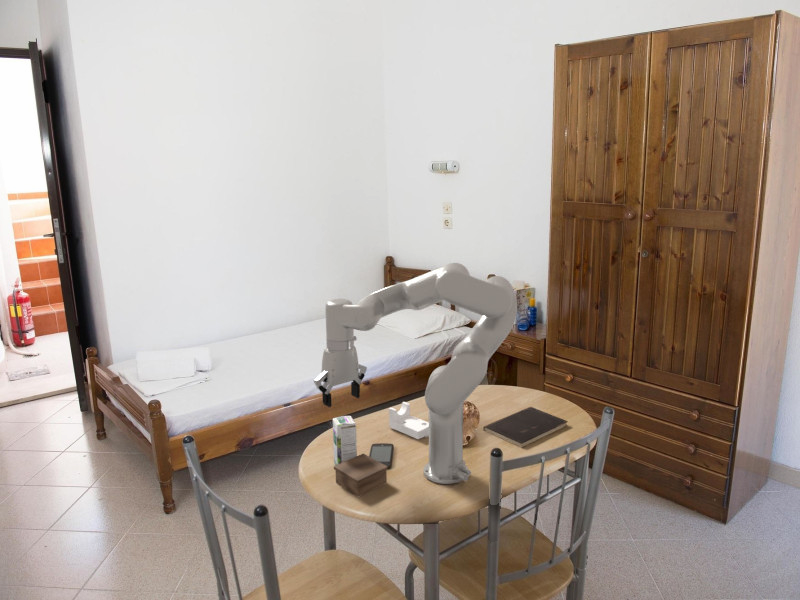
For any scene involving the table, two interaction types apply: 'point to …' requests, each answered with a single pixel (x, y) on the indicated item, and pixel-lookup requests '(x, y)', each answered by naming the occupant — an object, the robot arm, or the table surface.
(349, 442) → the syrup box
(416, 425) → the bracket
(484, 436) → the table surface
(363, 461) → the walnut box
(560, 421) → the hardcover book
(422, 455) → the table surface
